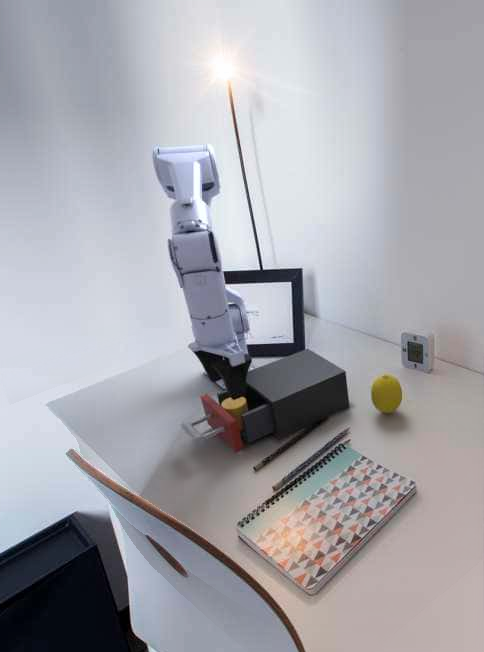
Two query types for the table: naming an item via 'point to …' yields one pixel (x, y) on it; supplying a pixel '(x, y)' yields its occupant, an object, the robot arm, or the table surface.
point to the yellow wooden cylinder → (236, 409)
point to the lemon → (386, 393)
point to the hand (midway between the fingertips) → (227, 388)
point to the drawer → (226, 426)
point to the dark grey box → (300, 390)
